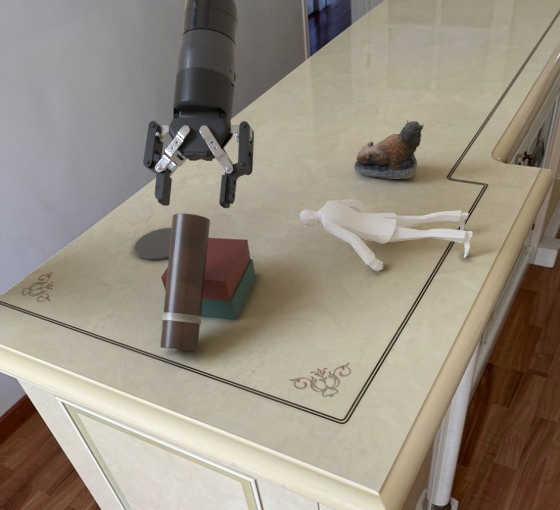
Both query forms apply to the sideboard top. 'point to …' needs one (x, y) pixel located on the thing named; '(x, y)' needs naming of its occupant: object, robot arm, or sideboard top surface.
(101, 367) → the sideboard top surface
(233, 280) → the red and teal box
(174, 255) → the pepper mill
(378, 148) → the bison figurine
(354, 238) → the male figurine
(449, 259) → the sideboard top surface
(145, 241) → the coaster
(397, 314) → the sideboard top surface
